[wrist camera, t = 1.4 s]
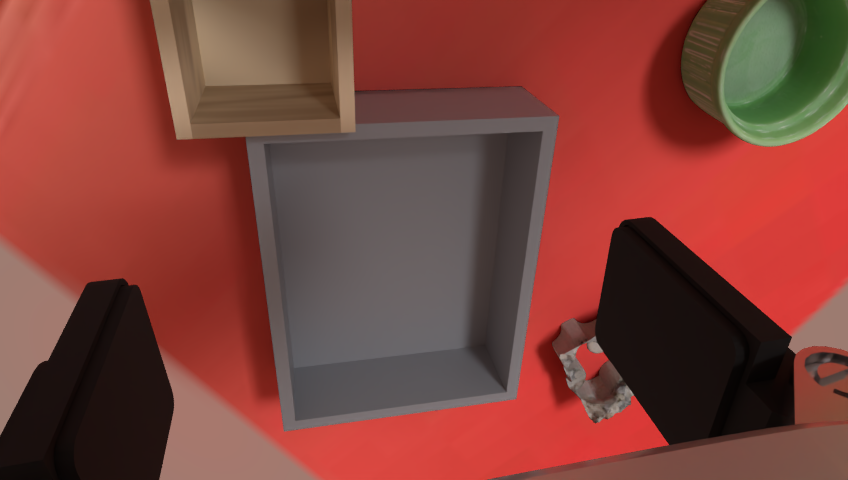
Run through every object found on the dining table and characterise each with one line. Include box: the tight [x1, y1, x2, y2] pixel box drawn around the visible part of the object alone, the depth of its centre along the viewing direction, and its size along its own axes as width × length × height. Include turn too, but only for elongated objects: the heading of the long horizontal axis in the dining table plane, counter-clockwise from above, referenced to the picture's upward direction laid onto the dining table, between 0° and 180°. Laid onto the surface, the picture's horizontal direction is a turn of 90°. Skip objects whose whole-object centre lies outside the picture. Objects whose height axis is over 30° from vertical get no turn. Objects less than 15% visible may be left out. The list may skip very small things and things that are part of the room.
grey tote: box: [246, 86, 559, 431], centre depth 32 cm, size 18×14×5 cm
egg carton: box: [552, 318, 634, 423], centre depth 40 cm, size 11×8×4 cm
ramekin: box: [681, 0, 848, 147], centre depth 31 cm, size 9×9×4 cm
